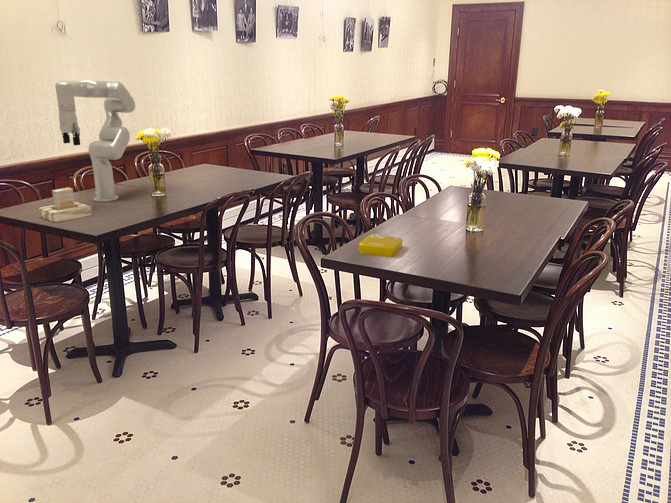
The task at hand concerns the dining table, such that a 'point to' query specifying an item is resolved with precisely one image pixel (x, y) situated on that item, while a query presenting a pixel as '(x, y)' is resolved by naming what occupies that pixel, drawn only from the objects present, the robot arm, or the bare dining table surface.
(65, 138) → the robot arm
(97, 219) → the dining table surface
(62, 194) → the supplement box
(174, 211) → the dining table surface
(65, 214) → the well
